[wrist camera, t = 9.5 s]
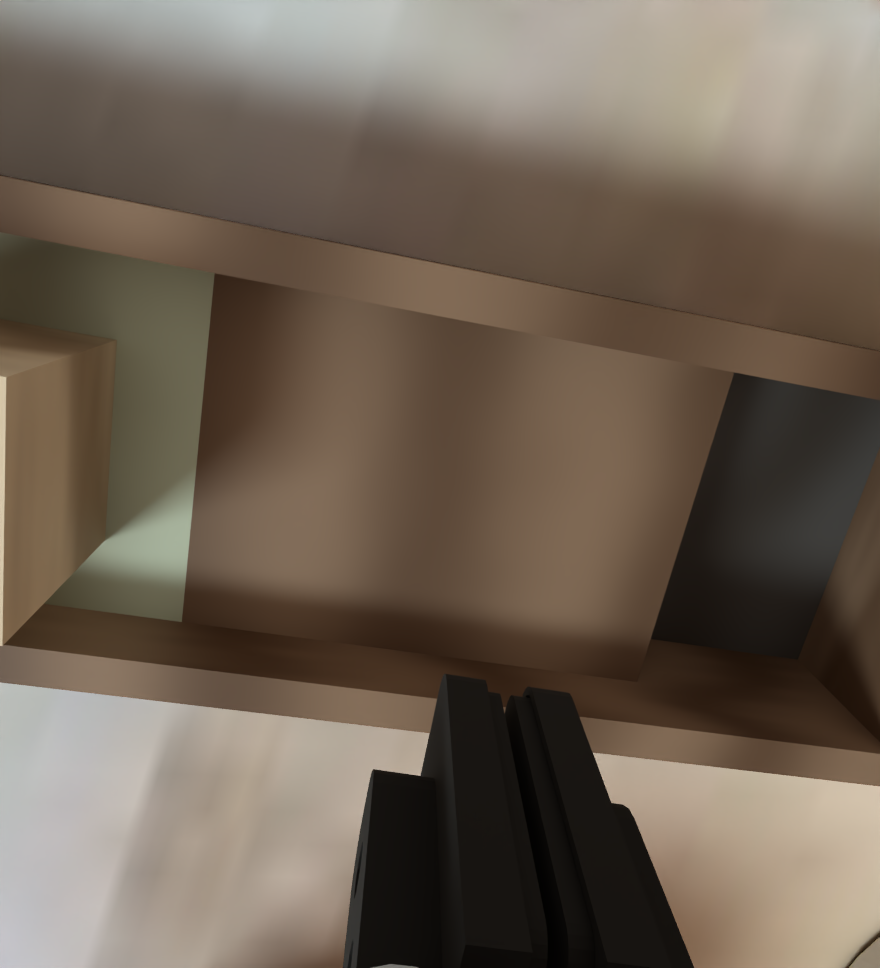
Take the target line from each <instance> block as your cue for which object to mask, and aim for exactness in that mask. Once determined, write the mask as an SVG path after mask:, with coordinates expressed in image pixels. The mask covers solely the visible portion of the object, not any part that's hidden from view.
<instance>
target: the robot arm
mask: <svg viewBox="0 0 880 968" xmlns="http://www.w3.org/2000/svg"><path fill="white" fill-rule="evenodd" d="M343 968H694V966H693V964H692V961H691V959H690V956H689V954H688V951H687V949H686V946H685V944H684V941H683V939H682V936H681V934H680V931H679V929H678V926H677V924H676V921H675V919H674V916H673V914H672V911H671V909H670V906H669V904H668V901H667V899H666V896H665V894H664V891H663V889H662V886H661V884H660V881H659V879H658V876H657V874H656V871H655V869H654V867H653V864H652V862H651V859H650V857H649V854H648V852H647V849H646V847H645V844H644V842H643V839H642V837H641V834H640V832H639V829H638V827H637V824H636V822H635V819H634V817H633V815H632V814H631V812H630V810H629V809H628V808H627V807H625V806H624V805H621V804H614V803H611V801H610V798H609V796H608V793H607V790H606V788H605V785H604V782H603V779H602V777H601V774H600V771H599V769H598V766H597V763H596V761H595V758H594V755H593V752H592V750H591V747H590V744H589V742H588V739H587V736H586V733H585V731H584V728H583V725H582V723H581V720H580V717H579V715H578V712H577V709H576V706H575V704H574V701H573V698H572V696H571V695H570V693H567V692H561V691H555V690H548V689H542V688H535V687H529V686H528V687H527V688H526V689H525V691H524V693H523V696H522V697H521V696H514V695H511V696H510V697H509V700H508V702H507V706H506V710H505V714H504V709H503V703H502V698H501V695H500V694H499V693H494V692H488V687H487V683H486V680H483V679H477V678H470V677H464V676H457V675H451V674H444V675H443V677H442V680H441V684H440V688H439V693H438V697H437V702H436V707H435V711H434V716H433V721H432V725H431V730H430V735H429V739H428V744H427V749H426V753H425V758H424V763H423V767H422V772H421V776H416V775H409V774H402V773H395V772H388V771H381V770H374V769H373V771H372V774H371V778H370V782H369V787H368V792H367V797H366V803H365V808H364V813H363V818H362V824H361V829H360V835H359V841H358V847H357V854H356V860H355V867H354V874H353V882H352V890H351V898H350V907H349V916H348V925H347V935H346V944H345V953H344V962H343ZM849 968H880V937H879V938H878V939H876V940H875V941H874V942H873V943H872V944H871V945H870V946H869V947H868V948H867V949H866V950H864V951H863V952H862V953H861V954H860V955H859V956H858V957H857V958H856V959H855V961H854V962H853V963H852V964H851V966H850V967H849Z"/></svg>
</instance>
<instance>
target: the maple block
mask: <svg viewBox="0 0 880 968" xmlns="http://www.w3.org/2000/svg"><path fill="white" fill-rule="evenodd" d="M116 347H117V340H115V339H109V338H104V337H98V336H92V335H87V334H81V333H76V332H70V331H65V330H59V329H53V328H48V327H42V326H37V325H31V324H26V323H20V322H14V321H9V320H3V319H0V646H3V645H4V644H5V643H6V642H7V641H8V640H9V639H10V638H11V637H12V636H13V635H14V634H15V633H16V632H17V631H18V630H19V629H20V628H21V626H22V625H23V624H24V623H25V622H26V621H27V620H28V619H29V618H30V617H31V616H32V615H33V614H34V613H35V612H36V611H37V610H38V609H39V608H40V607H41V606H42V605H43V604H44V603H45V602H46V601H47V600H48V599H49V598H50V597H51V596H52V595H53V594H54V592H55V591H56V590H57V589H58V588H59V587H60V586H61V585H62V584H63V583H64V582H65V581H66V580H67V579H68V578H69V577H70V576H71V575H72V574H73V573H74V572H75V571H76V570H77V569H78V568H79V567H80V566H81V565H82V564H83V563H84V562H85V561H86V560H87V558H88V557H89V556H90V555H91V554H92V553H93V552H94V551H95V550H96V549H97V548H98V547H99V546H100V545H101V544H102V543H103V542H104V541H105V532H106V515H107V498H108V482H109V465H110V448H111V431H112V414H113V397H114V380H115V364H116Z"/></svg>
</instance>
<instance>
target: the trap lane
mask: <svg viewBox="0 0 880 968" xmlns="http://www.w3.org/2000/svg"><path fill="white" fill-rule="evenodd" d="M0 319H3V320H9V321H14V322H20V323H26V324H31V325H37V326H42V327H48V328H53V329H59V330H65V331H70V332H76V333H81V334H87V335H92V336H98V337H104V338H109V339H115V340H117V347H116V364H115V380H114V397H113V414H112V431H111V448H110V465H109V482H108V498H107V515H106V532H105V541H104V542H103V543H102V544H101V545H100V546H99V547H98V548H97V549H96V550H95V551H94V552H93V553H92V554H91V555H90V556H89V557H88V558H87V560H86V561H85V562H84V563H83V564H82V565H81V566H80V567H79V568H78V569H77V570H76V571H75V572H74V573H73V574H72V575H71V576H70V577H69V578H68V579H67V580H66V581H65V582H64V583H63V584H62V585H61V586H60V587H59V588H58V589H57V590H56V591H55V592H54V594H53V595H52V596H51V597H50V598H49V599H48V600H47V601H46V602H45V603H44V604H43V605H42V606H41V607H40V608H39V609H38V610H37V611H36V612H35V613H34V614H33V615H32V616H31V617H30V618H29V619H28V620H27V621H26V622H25V623H24V624H23V625H22V626H21V628H20V629H19V630H18V631H17V632H16V633H15V634H14V635H13V636H12V637H11V638H10V639H9V640H8V641H7V642H6V643H5V644H4V645H3V646H0V682H2V683H11V684H19V685H28V686H36V687H45V688H53V689H62V690H70V691H79V692H87V693H95V694H104V695H112V696H121V697H129V698H138V699H146V700H155V701H163V702H172V703H180V704H188V705H197V706H205V707H214V708H222V709H231V710H239V711H248V712H256V713H265V714H273V715H281V716H290V717H298V718H307V719H315V720H324V721H332V722H341V723H349V724H358V725H366V726H374V727H383V728H391V729H400V730H408V731H417V732H425V733H430V730H431V725H432V721H433V716H434V711H435V707H436V702H437V697H438V693H439V688H440V684H441V680H442V677H443V675H444V674H451V675H457V676H464V677H470V678H477V679H483V680H486V683H487V687H488V692H494V693H499V694H500V695H501V698H502V703H503V709H504V714H505V710H506V706H507V702H508V700H509V697H510V696H511V695H514V696H521V697H522V696H523V693H524V691H525V689H526V688H527V687H528V686H529V687H535V688H542V689H548V690H555V691H561V692H567V693H570V695H571V696H572V698H573V701H574V704H575V706H576V709H577V712H578V715H579V717H580V720H581V723H582V725H583V728H584V731H585V733H586V736H587V739H588V742H589V744H590V747H591V750H592V752H594V753H603V754H611V755H620V756H628V757H637V758H645V759H654V760H662V761H670V762H679V763H687V764H696V765H704V766H713V767H721V768H730V769H738V770H747V771H755V772H763V773H772V774H780V775H789V776H797V777H806V778H814V779H823V780H831V781H840V782H848V783H856V784H865V785H873V786H880V351H877V350H872V349H867V348H862V347H857V346H852V345H847V344H842V343H837V342H832V341H827V340H822V339H817V338H812V337H807V336H802V335H797V334H792V333H787V332H782V331H777V330H773V329H768V328H763V327H758V326H753V325H748V324H743V323H738V322H733V321H728V320H723V319H718V318H713V317H708V316H703V315H698V314H693V313H688V312H683V311H678V310H673V309H668V308H663V307H658V306H653V305H648V304H643V303H638V302H633V301H628V300H623V299H618V298H613V297H608V296H603V295H598V294H593V293H588V292H583V291H578V290H573V289H568V288H563V287H558V286H553V285H548V284H543V283H538V282H533V281H528V280H523V279H518V278H513V277H508V276H503V275H498V274H493V273H488V272H483V271H478V270H473V269H468V268H463V267H458V266H453V265H448V264H443V263H438V262H433V261H428V260H423V259H418V258H413V257H408V256H403V255H398V254H393V253H388V252H383V251H378V250H373V249H368V248H363V247H358V246H353V245H348V244H343V243H338V242H333V241H328V240H323V239H318V238H313V237H308V236H303V235H298V234H293V233H288V232H283V231H278V230H273V229H268V228H263V227H258V226H253V225H248V224H243V223H238V222H233V221H228V220H223V219H218V218H213V217H208V216H203V215H198V214H193V213H188V212H183V211H178V210H173V209H168V208H163V207H158V206H153V205H148V204H143V203H138V202H133V201H128V200H123V199H118V198H113V197H108V196H103V195H98V194H93V193H88V192H83V191H78V190H73V189H68V188H63V187H58V186H53V185H48V184H43V183H38V182H33V181H28V180H23V179H18V178H13V177H8V176H3V175H0Z"/></svg>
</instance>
